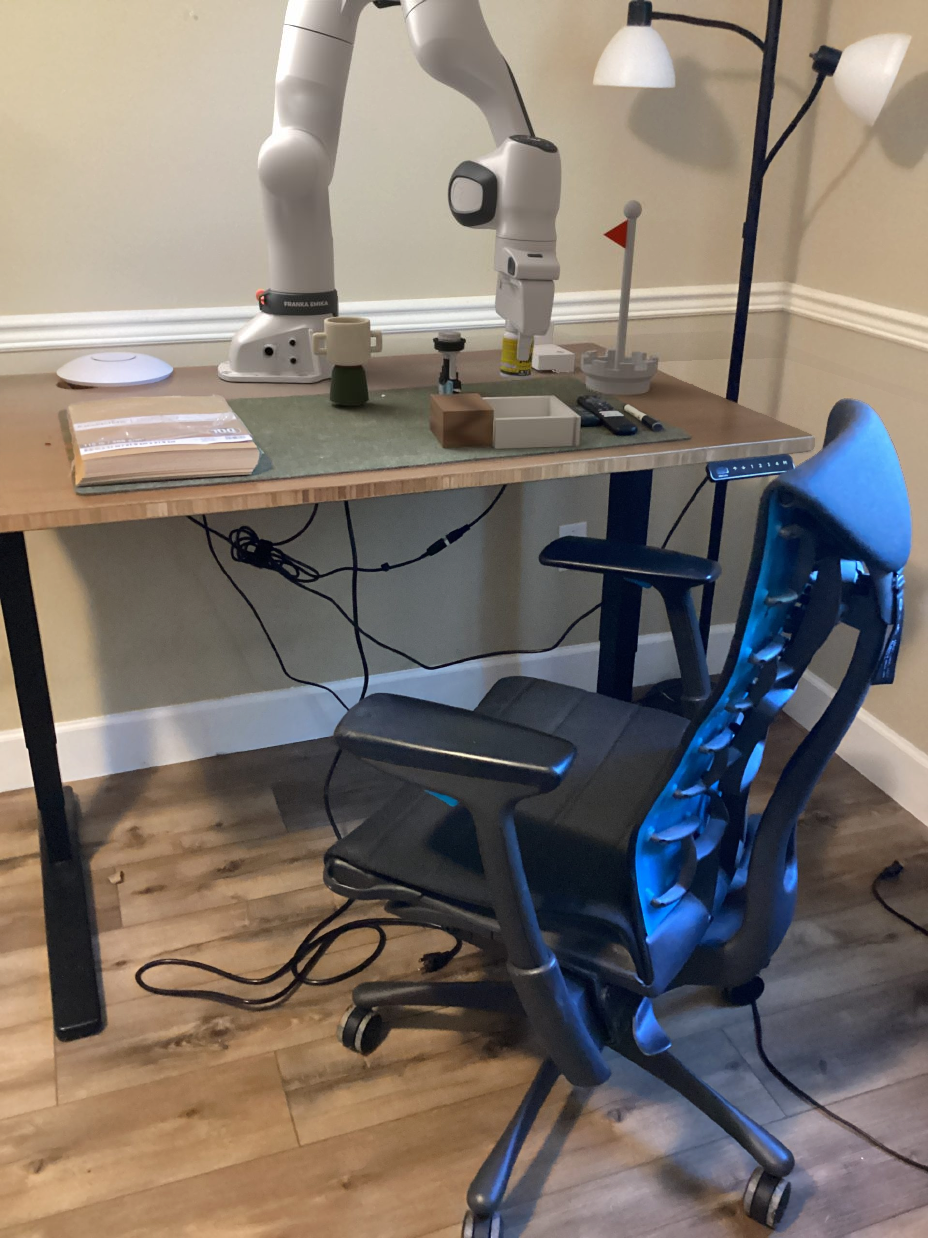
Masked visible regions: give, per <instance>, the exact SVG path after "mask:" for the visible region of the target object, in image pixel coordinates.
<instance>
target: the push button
mask: <svg viewBox="0 0 928 1238" xmlns="http://www.w3.org/2000/svg"><path fill="white" fill-rule="evenodd" d="M432 342H433V348H434V350H436V351H438V353H440V354H442V355H441V357H442V358H441V372H439V376H438V379H437V380H438V382H437V384H438V385H437V387H438V388H437V392H438V393H437V394H460V392H461V393H462V386H463V385H462V381H461V379H460V380H459V372H458V371H457V355H458V354H460V353H461V352H462V351H464V350H465V343H467V339H466V338H465V337H464V338H463V337H462V336H461V332H459V331H452V330H451V331H450V330H449V331H448V330H447V331H446V330H443V331H439V332H438V334H437V337H433V339H432Z"/></svg>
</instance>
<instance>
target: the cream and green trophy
mask: <svg viewBox="0 0 928 1238" xmlns="http://www.w3.org/2000/svg"><path fill="white" fill-rule="evenodd" d="M324 332H325V333H314V334H313V336H312V342H313V353H314V354H315V355H325V357H326V359H327V362H329V363H331V364H335V366H334V367H333V370H332V376H331V378H330V386H329V387H330V388H329V390H330V391H329V401H330V402H332V403H334V404H338V406H359V405H363V404H366V403H367V402H369V401H370V396H369V387H368V381H367V375H366V370H365V368H364V366H363V365H366V364H368V363H370V361H371V358H372V353H377V354H378V353H381V352H382V350H383V333H382V331H381V330H371V320H370V319H369V318H366V317H359V316H339V317H332V318H327V319H325V320H324ZM371 338H375V344H376V345H375V346H374V345H373V346H372V345H371V344H372V341H371ZM319 339H325V348H319Z"/></svg>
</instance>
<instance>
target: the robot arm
mask: <svg viewBox="0 0 928 1238" xmlns="http://www.w3.org/2000/svg"><path fill="white" fill-rule="evenodd" d="M370 3H373V5H374V6H375V8H377V9H379V10H381V9H387V8H391V7H397V6H399V7H401V10H402V14H403V19H404V23H405V28H406V31H407V35H408V41H409V44H410V47H411V50H412V52H413V54H414V56H415V59H416V60H417V62H418V64H419V66H420V67H421V69H422V70H423V71H424V72H425V73H426V74H427V75H428V76H430V77H431V78H433V79H434V80H436V81H437V82H439V83H442V84H444V85H445V86H447V87H449V88H450V89H453V90H455V91H457V92H458V93H460V94H461V95H463V96H464V97H466V98H467V99H468V100H470V101H471V102H473V104H475V105H476V106H477V107H478V108H479V110H480V111H481V112H482V114H483V115H484V117H485V118H486V121H487V124H488V126H489V130H490V132H491V135H492V137H493V140H494V143H495V146H496V148H495V149H494V150H492V151H491V152H488V153H487V154H483V155H482V156H478V157H475V158H473V159H470V160H469V159H468V160H464V161H462V162H460V163H459V164H458V166H456V168H455V169H454V170H453V172H452V174H451V176H450V179H449V181H448V188H447V201H448V206H449V209H450V210H449V211H450V212H451V215H452V216H453V218H454V220H456V222H457V223H458V224H460V226H462V227H466V228H469V229H473V230H474V229H475V230H495V231H496V232H495V233H496V234H495V244H494V258H493V270H494V271H496V272H498V273H497V281H496V289H495V290H496V291H495V300H494V308H495V309H494V310H495V313H496V314H497V315H498V316H499V317H501V318H502V319H503V320H504V321H505V323H504V324H505V325H504V326H505V327H504V328H505V332H507V331H508V330H507V329H506V328H507V327H506V326H507V320H509V322H510V324H511V325H512V326H514V327H515V328H516V329H517V330H518V344H517V347H516V354H515V356H516V358H517V359H518V360H519V361H527V360H528V359H529V353H530V347H531V344H532V341H533V338H534V336H544V335H546V333H547V331H548V329H549V326H550V321H552V312H553V309H554V308H553V307H554V300H555V291H556V290H555V289H556V287H555V286H556V285H555V281H558V280H560V274H561V265H560V262H559V260H558V258H557V251H556V249H557V237H558V235H557V231H556V220H557V215H558V213H559V210H560V205H561V192H562V160H561V155H560V154H561V153H560V150H559V148H558V147H557V146H556V144H554V143H553V142H551V141H549V140H547V139H545V138H541V137H538V136H536V134H535V130H534V128H533V125H532V121H531V120H530V117H529V114H528V112H527V107H526V105H525V102H524V99H523V97H522V94H521V91H520V89H519V85H518V83H517V81H516V78H515V76H514V73H513V71H512V69H511V66H510V65H509V63H508V62H507V60H506V58H505V57H504V55H503V54H502V53H501V52H500V49H499V47H498V46H497V44H496V43H495V40H494V39H493V37H492V35H491V32H490V31H489V28H488V25H487V23H486V20H485V17H484V14H483V13H482V12H483V11H482V8H481V5H480V1H479V0H288V3H287V6H286V7H287V8H286V10H285V18H284V23H283V24H284V25H283V29H282V36H281V44H280V49H279V55H278V62H277V68H276V75H275V80H274V81H275V87H274V89H275V92H274V106H273V107H274V109H273V111H274V112H273V119H272V131H271V135H269V137H268V138H266V140H265V141H264V142H263V143H262V145H261V146H260V149H259V152H258V156H257V174H258V183H259V192H260V199H261V200H260V201H261V207H262V214H263V215H262V216H263V222H264V223H263V224H264V227H265V228H264V229H265V233H266V234H265V235H266V243H267V256H268V259H267V260H268V271H269V273H268V275H269V277H268V278H269V288H268V289H266V290H265V289H263V288H259V289H257V290H256V292H255V294H254V295H255V298H256V300H257V301H258V305H259V306H258V309H259V311H260V312H259V313H257V314H256V315H255V316H253V317H252V318H251V319H250V320H249V321H248V322H247V323H246V324H244V325H243V326H242V327H241V328H240V329H239V330H237V331H236V332H235V333H234V335H233V336H232V338H231V341H230V346H229V350H228V351H229V352H228V353H229V354H228V355H229V356H228V360H226V361H223V362H221V363H220V364H219V365H218V367H217V375H218V377H219V378H220V379H222V380H225V381H227V382H243V383H244V382H245V383H248V382H250V383H253V382H254V383H301V384H302V383H304V384H305V383H306V384H308V383H311V384H312V383H317V382H319V381H323V380H325V379H331V376H332V370H333V367H334V366H335V364H331V363H329V362H327V359H326V357H325V355H315V354H314V353H313V342H312V336H313V334H314V333H325V332H324V320H325V319H327V318H332V317H340V313H339V311H340V308H339V307H340V306H339V295H338V291H337V289H336V286H335V259H334V257H335V255H334V254H335V253H334V252H335V251H334V250H335V249H334V238H333V228H332V218H331V208H330V195H329V193H330V192H329V186H330V185H331V182H332V181H333V177H334V173H335V167H336V161H337V154H338V148H339V147H338V146H339V141H340V135H341V134H340V133H341V125H342V118H343V111H344V102H345V98H346V97H345V96H346V93H347V85H348V80H349V75H350V70H351V63H352V58H353V52H354V45H355V42H356V35H357V34H356V33H357V28H358V23H359V20H360V16H361V13H362V11H363V10H364V8H365V7H366V6H368V5H369V4H370ZM319 348H325V339H319Z"/></svg>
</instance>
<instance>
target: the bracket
mask: <svg viewBox="0 0 928 1238" xmlns="http://www.w3.org/2000/svg"><path fill="white" fill-rule="evenodd" d="M554 329H555V321H552V320H551V321H550V326H549V329H548V331H547V333H546V335H544V336H534V348H533V358H532V368H533V369H535V370H537V371H549V370H550V371H551V370H554V371H555V372H566V371H569V372H568V373H571V372H570V371H574V372H575V361H576V360H575V359H576V354H575V353H573V352H571V351H569V350H567V349H565V348H563V347H560V346H558V345H556V344H554ZM555 372H554V373H555Z"/></svg>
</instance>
